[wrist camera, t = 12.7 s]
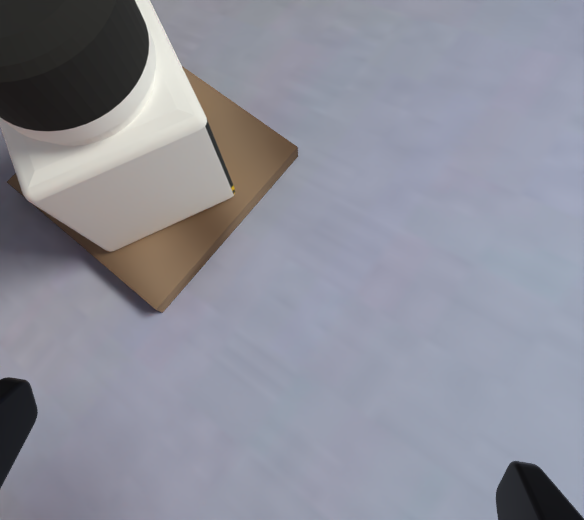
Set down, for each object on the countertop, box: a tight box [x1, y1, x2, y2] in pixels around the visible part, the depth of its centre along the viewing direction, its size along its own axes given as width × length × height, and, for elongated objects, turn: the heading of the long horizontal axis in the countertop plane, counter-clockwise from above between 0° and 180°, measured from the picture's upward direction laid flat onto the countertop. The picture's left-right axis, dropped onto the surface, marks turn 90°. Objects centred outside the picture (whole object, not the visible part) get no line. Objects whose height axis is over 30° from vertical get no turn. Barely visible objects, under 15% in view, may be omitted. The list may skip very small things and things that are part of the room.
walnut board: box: [7, 67, 298, 313], centre depth 24 cm, size 11×11×1 cm
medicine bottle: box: [0, 0, 235, 252], centre depth 18 cm, size 7×7×12 cm
